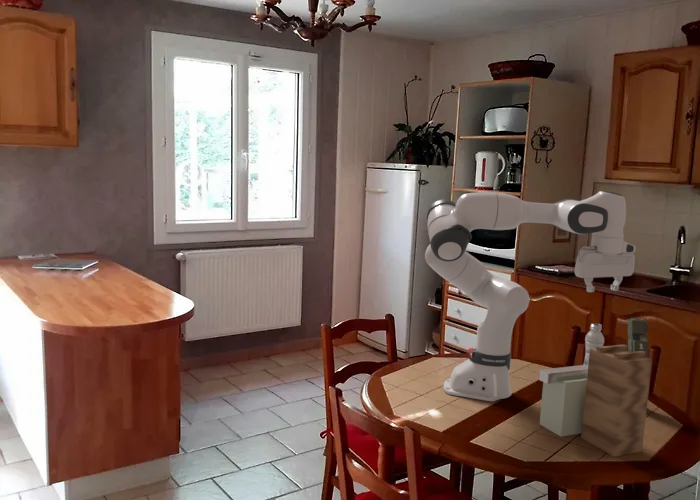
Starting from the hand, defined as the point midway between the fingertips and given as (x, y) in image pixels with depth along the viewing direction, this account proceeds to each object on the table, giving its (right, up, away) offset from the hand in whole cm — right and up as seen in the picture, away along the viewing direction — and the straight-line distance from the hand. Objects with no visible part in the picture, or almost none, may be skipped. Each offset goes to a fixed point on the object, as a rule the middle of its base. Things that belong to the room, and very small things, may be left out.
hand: (602, 291), depth 189 cm
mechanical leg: (+15, -39, +15) cm, 44 cm away
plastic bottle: (+13, -35, +42) cm, 56 cm away
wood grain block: (-4, -41, -15) cm, 44 cm away
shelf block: (-13, -40, -5) cm, 42 cm away
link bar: (-13, -25, -7) cm, 29 cm away
